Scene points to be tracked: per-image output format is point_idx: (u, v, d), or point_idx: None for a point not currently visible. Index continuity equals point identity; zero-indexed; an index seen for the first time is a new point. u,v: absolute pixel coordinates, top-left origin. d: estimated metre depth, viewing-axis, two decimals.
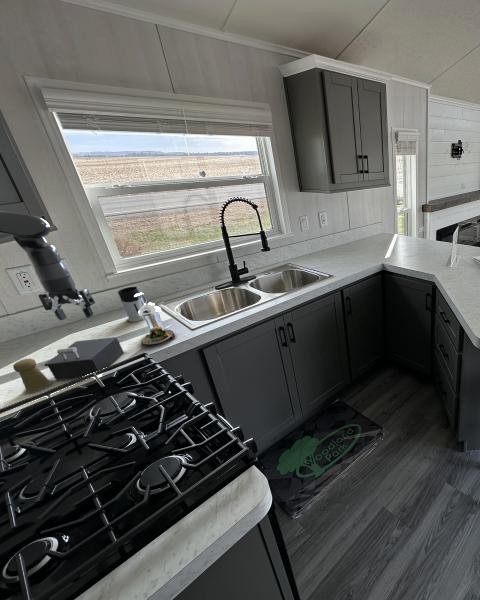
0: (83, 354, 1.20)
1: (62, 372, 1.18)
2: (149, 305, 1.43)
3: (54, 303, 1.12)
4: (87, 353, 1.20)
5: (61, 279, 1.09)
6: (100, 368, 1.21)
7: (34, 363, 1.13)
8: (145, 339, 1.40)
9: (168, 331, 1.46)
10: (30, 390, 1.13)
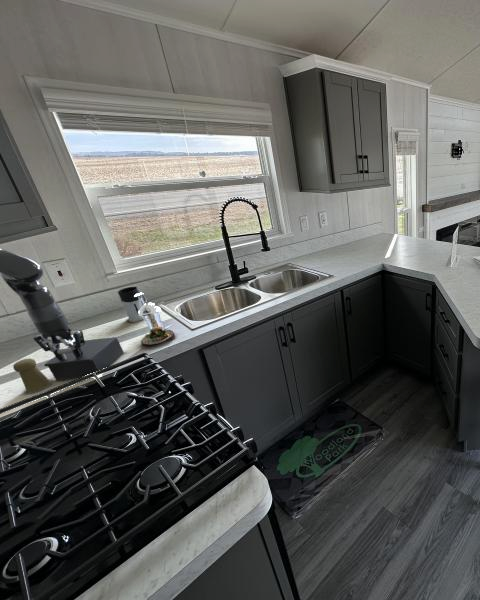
0: (83, 354, 1.20)
1: (62, 372, 1.18)
2: (149, 305, 1.43)
3: (50, 344, 1.13)
4: (87, 353, 1.20)
5: (54, 320, 1.09)
6: (100, 368, 1.21)
7: (34, 363, 1.13)
8: (145, 339, 1.40)
9: (168, 331, 1.46)
10: (30, 390, 1.13)
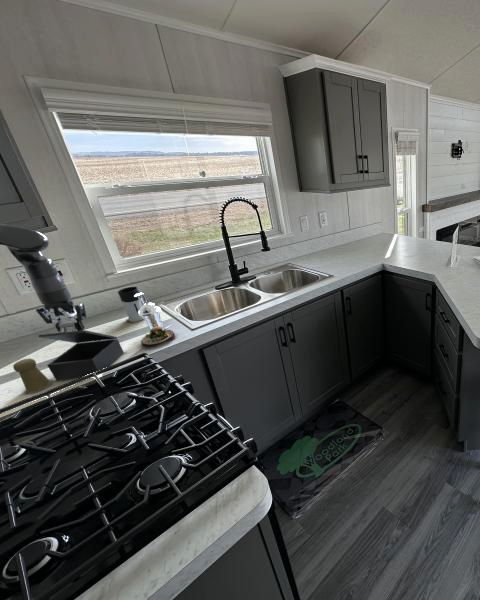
0: None
1: (62, 372, 1.18)
2: (149, 305, 1.43)
3: (52, 316, 1.14)
4: None
5: (57, 292, 1.11)
6: (100, 368, 1.21)
7: (34, 363, 1.13)
8: (145, 339, 1.40)
9: (168, 331, 1.46)
10: (30, 390, 1.13)
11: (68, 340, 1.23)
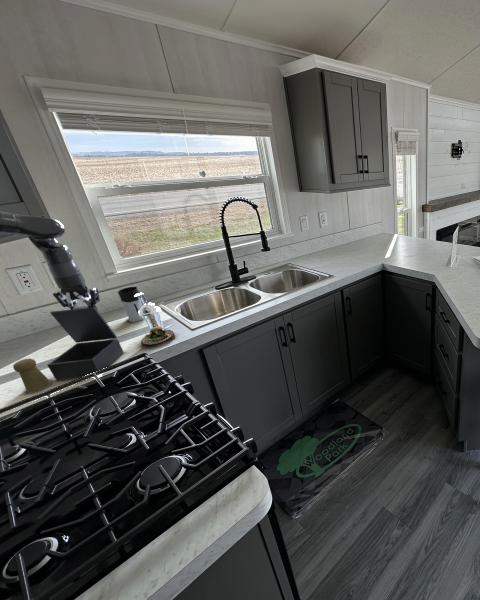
0: None
1: (62, 372, 1.18)
2: (149, 305, 1.43)
3: (68, 300, 1.21)
4: None
5: (72, 276, 1.18)
6: (100, 368, 1.21)
7: (34, 363, 1.13)
8: (145, 339, 1.40)
9: (168, 331, 1.46)
10: (30, 390, 1.13)
11: (71, 331, 1.25)
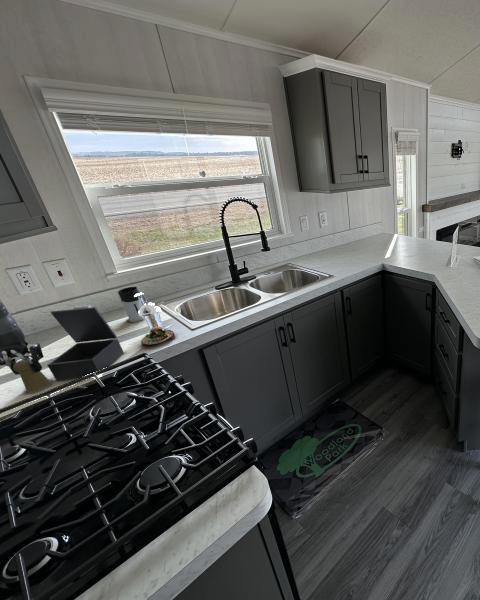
0: None
1: (62, 372, 1.18)
2: (149, 305, 1.43)
3: (5, 358, 1.08)
4: None
5: (8, 334, 1.05)
6: (100, 368, 1.21)
7: None
8: (145, 339, 1.40)
9: (168, 331, 1.46)
10: (30, 390, 1.13)
11: (71, 331, 1.25)
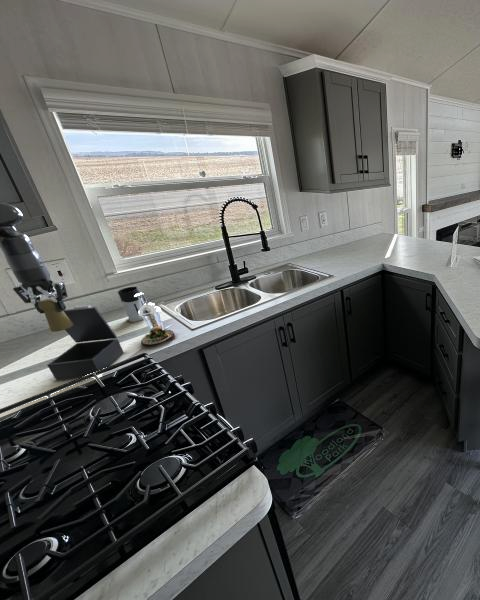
0: None
1: (62, 372, 1.18)
2: (149, 305, 1.43)
3: (30, 295, 1.09)
4: None
5: (34, 269, 1.06)
6: (100, 368, 1.21)
7: None
8: (145, 339, 1.40)
9: (168, 331, 1.46)
10: (54, 329, 1.14)
11: (71, 331, 1.25)
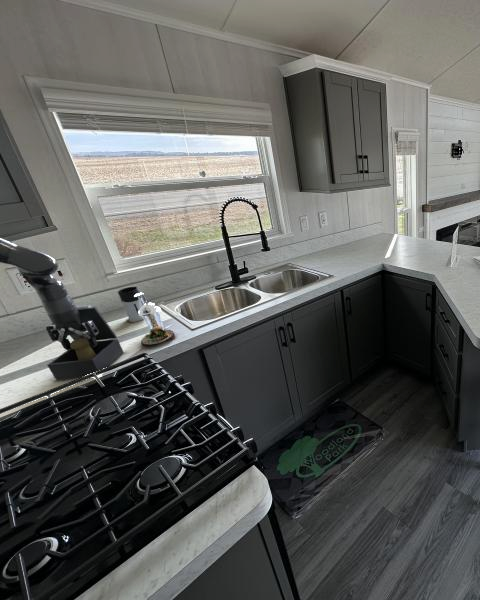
0: None
1: (62, 372, 1.18)
2: (149, 305, 1.43)
3: (61, 334, 1.18)
4: None
5: (67, 312, 1.15)
6: (100, 368, 1.21)
7: (88, 342, 1.23)
8: (145, 339, 1.40)
9: (168, 331, 1.46)
10: None
11: None
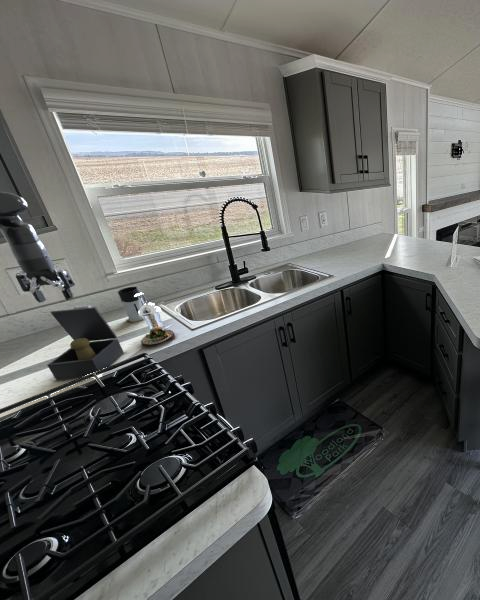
0: None
1: (62, 372, 1.18)
2: (149, 305, 1.43)
3: (32, 284, 1.09)
4: None
5: (39, 259, 1.06)
6: (100, 368, 1.21)
7: (88, 342, 1.23)
8: (145, 339, 1.40)
9: (168, 331, 1.46)
10: None
11: (71, 331, 1.25)
